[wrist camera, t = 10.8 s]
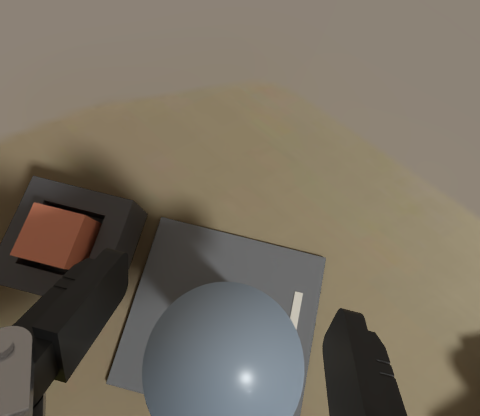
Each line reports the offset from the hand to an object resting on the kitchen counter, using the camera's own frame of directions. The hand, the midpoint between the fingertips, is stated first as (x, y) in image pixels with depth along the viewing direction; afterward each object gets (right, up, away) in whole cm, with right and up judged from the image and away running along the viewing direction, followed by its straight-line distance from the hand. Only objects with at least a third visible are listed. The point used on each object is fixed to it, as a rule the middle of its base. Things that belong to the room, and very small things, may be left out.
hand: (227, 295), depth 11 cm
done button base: (-9, +1, +8) cm, 12 cm away
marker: (-1, -3, +7) cm, 8 cm away
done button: (-9, +1, +6) cm, 11 cm away
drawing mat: (-1, -3, +7) cm, 8 cm away
